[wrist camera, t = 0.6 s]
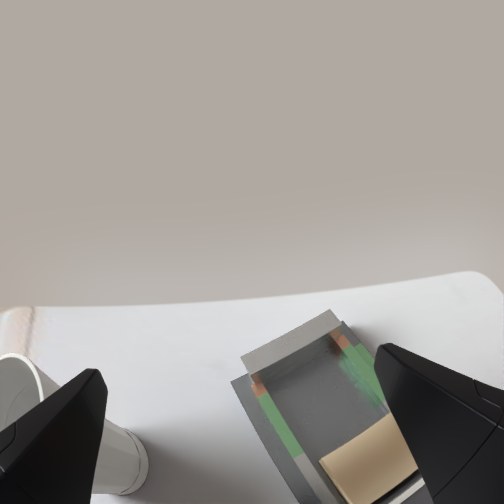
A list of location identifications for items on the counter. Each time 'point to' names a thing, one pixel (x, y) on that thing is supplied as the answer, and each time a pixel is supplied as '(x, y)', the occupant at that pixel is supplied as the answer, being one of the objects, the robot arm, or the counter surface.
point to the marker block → (370, 463)
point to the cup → (113, 438)
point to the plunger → (407, 492)
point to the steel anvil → (292, 348)
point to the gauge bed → (315, 414)
